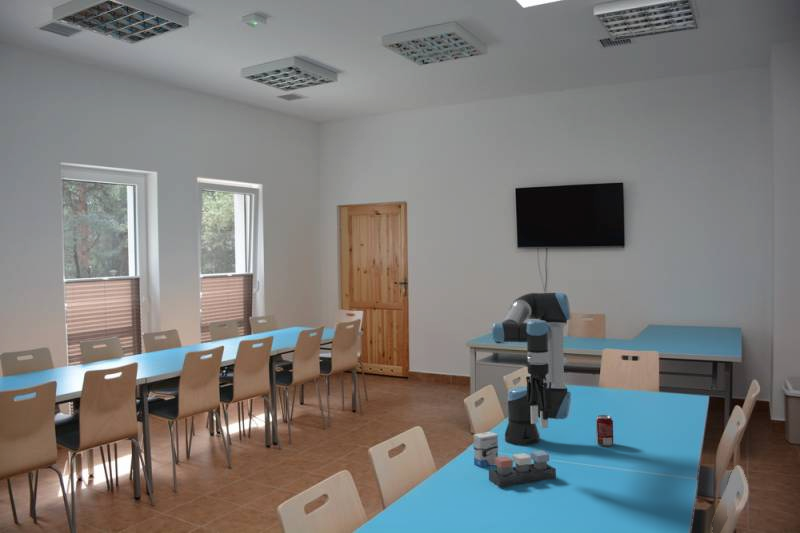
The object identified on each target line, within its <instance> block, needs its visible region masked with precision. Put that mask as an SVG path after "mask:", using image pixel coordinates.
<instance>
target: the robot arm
mask: <svg viewBox="0 0 800 533" xmlns="http://www.w3.org/2000/svg"><path fill="white" fill-rule="evenodd" d="M569 302H570V301H569V298H568V296H567V294H566V293H562V292H530V293H526V294H524V295H521V296H519V297H518V298H516V299H514V300H513V301H512V302H511V304H510V305H509V308H508V309H509V311H508V313H507V314H506V316H505V318H504V320H503V321H501V322H500V321H499V322H494V323H493V325H492V331H491V332H492V333H491V334H492V340H493V341H494V342H497V343H498V342H500V343H526V345H527V349H526V350H527V355H526V357H527V373H528V374H529V376H528V375H527V376H526V378H525V379H526V385H519V386H516V387H512V388H510V389H509V390H508V392H507V399H506V400H507V418H508V420H507V422H508V423H507V426H506V429H505V433H504V441H505V442H506V443H508V444H512V445H518V446H531V445H535V444H539V443H540V440H541V436H540V432H539V429H538V427H537V424H539V423H540V426H539V427H540V429H549V420H550V419H553V420H565V419H567V418H568V417H569V413H570V409H571V402H572V393H571V392H570V391H568V387H567V385H566V384H565V383H564V380H565V378H564V377H565V376H564V373H565V372H564V369H565V368H564V356H565V354H564V352H565V351H564V329H565V326H567V324H568V320H571V309H570V303H569ZM526 321H527V322H526ZM539 420H540V422H539Z"/></svg>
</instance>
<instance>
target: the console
mask: <svg viewBox="0 0 800 533" xmlns="http://www.w3.org/2000/svg"><path fill="white" fill-rule="evenodd" d="M554 479H557V469H556V468H555V467H553V466H551V465H549V464H548V463H547V469H542V470H538V469H536V468H535V467H534V463H531V464H529V472H523V473H520V472H518V471H517V470H516V466H513V467H510V475H504V476H501V475H500V474H499V473H497V469H496V468H495V469H491V470H488V481H489V480H490V482H491V483H492V482H493V483H494V484H493V485H495V486H496V485H497V486H498V488H499V489H501V488H500V487H502V488H507V487H511V486H512V487H513V486H519V485H520V486H521V485H526V484H530V483H532V484H533V483H536V482H537V483H538V482H543V481H550V480H554ZM497 486H496V487H497Z"/></svg>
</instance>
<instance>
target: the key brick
mask: <svg viewBox="0 0 800 533" xmlns="http://www.w3.org/2000/svg"><path fill="white" fill-rule="evenodd" d="M494 461H495V466H496V468H497V473H499V474H500V475H501V476H504V475H510V467H514V465H513V464H514V462H513V458H510V456H507V455H502V456H498V457H494Z"/></svg>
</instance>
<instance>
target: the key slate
mask: <svg viewBox="0 0 800 533" xmlns="http://www.w3.org/2000/svg"><path fill="white" fill-rule="evenodd" d="M530 457H531V460H533V464H534V467H535V468H536V469H538V470H542V469H547V464H548V463H547V462H549V461H550V453H548V452H545V451H544V450H538V451H537V450H536V451H531V452H530Z"/></svg>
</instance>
